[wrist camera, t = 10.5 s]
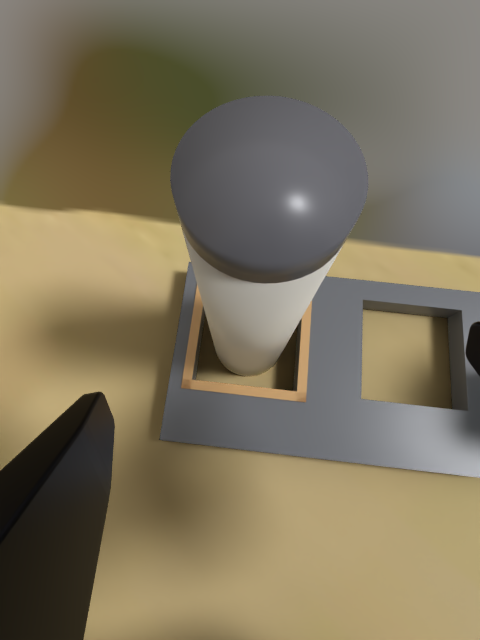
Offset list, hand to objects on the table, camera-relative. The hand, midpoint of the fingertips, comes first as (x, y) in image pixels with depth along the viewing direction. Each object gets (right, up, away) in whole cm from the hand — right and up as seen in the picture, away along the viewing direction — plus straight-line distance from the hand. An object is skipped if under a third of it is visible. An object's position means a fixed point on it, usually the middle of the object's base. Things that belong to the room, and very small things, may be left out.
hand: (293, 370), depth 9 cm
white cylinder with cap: (-1, 0, +13) cm, 13 cm away
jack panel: (+4, -2, +13) cm, 13 cm away
